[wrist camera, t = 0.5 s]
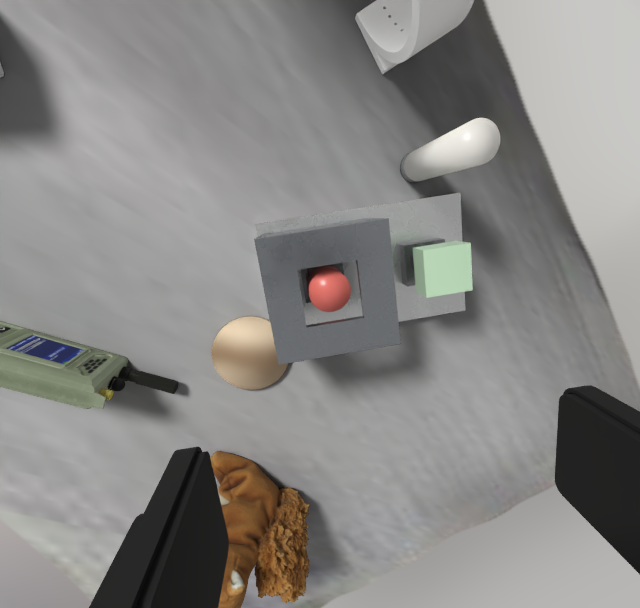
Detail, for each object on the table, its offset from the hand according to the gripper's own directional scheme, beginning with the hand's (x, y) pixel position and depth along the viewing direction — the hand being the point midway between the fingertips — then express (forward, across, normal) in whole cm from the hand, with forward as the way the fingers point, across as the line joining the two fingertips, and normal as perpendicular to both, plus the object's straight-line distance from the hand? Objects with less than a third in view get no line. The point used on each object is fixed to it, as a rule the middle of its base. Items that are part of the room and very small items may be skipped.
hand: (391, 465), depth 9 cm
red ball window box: (+28, -5, -1) cm, 28 cm away
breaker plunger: (+24, -1, 0) cm, 24 cm away
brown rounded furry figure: (+28, +10, +25) cm, 39 cm away
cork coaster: (+28, +8, +7) cm, 29 cm away
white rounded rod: (+28, -11, -10) cm, 31 cm away
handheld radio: (+28, +27, +3) cm, 39 cm away
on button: (+24, -11, -1) cm, 26 cm away
